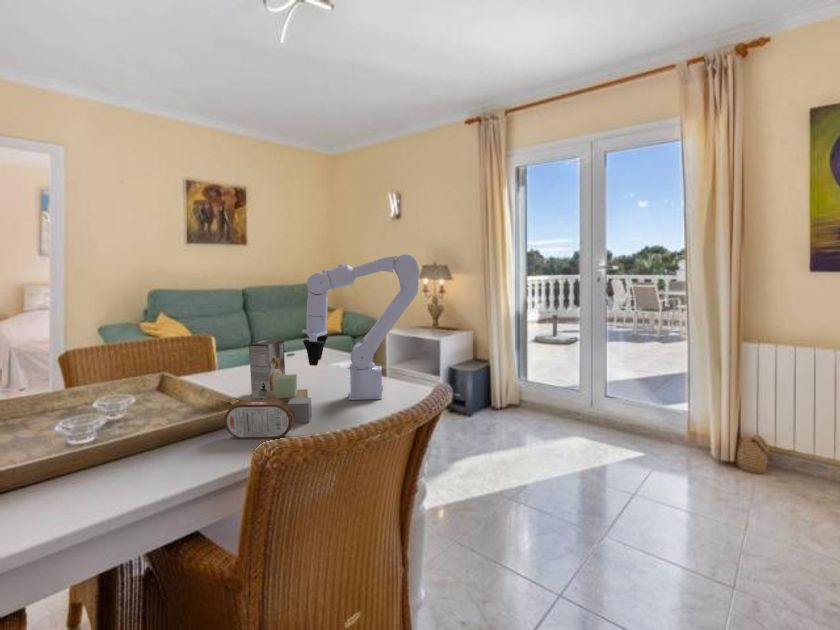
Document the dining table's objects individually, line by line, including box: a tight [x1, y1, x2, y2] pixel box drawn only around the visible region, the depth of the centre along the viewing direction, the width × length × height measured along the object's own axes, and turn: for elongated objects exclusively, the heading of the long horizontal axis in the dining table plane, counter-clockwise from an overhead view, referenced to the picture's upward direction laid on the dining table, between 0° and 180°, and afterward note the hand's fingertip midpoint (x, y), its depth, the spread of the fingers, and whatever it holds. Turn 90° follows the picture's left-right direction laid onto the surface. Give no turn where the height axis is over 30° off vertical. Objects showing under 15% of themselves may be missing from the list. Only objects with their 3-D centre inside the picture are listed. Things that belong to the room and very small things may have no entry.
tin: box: [224, 399, 295, 440], centre depth 102 cm, size 15×3×8 cm, turn 92°
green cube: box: [275, 373, 298, 398], centre depth 123 cm, size 5×5×5 cm
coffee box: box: [248, 338, 286, 400], centre depth 136 cm, size 9×6×16 cm
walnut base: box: [264, 388, 309, 404], centre depth 124 cm, size 10×10×4 cm
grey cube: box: [288, 397, 313, 424], centre depth 114 cm, size 5×5×5 cm
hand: (315, 362), depth 132 cm, fingers open, 7 cm apart
